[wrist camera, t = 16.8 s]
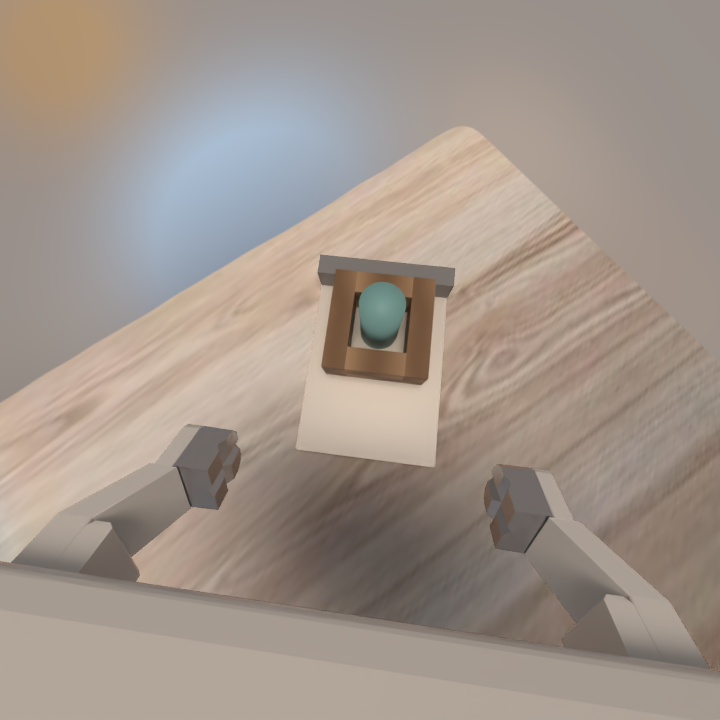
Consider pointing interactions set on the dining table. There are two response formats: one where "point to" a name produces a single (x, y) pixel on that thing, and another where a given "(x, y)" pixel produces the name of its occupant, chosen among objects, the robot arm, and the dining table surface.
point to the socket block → (378, 362)
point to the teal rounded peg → (381, 314)
